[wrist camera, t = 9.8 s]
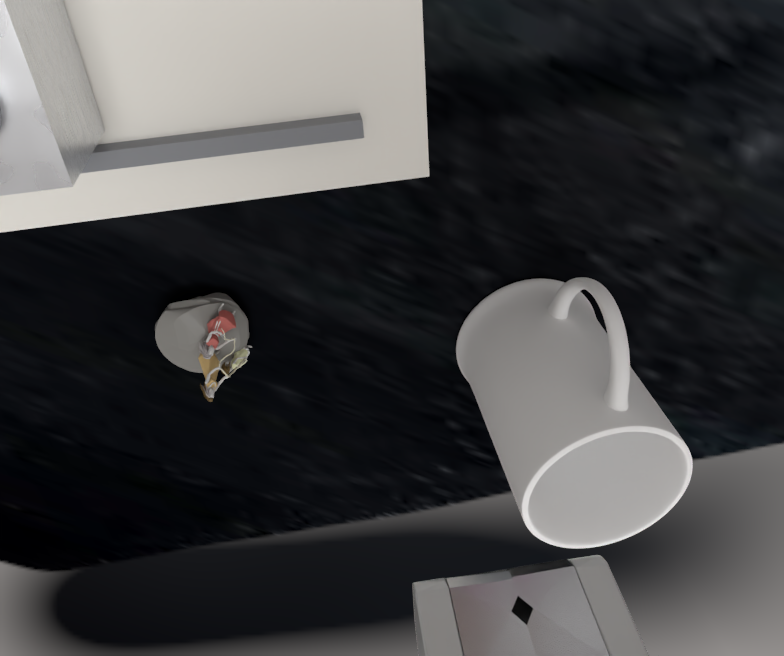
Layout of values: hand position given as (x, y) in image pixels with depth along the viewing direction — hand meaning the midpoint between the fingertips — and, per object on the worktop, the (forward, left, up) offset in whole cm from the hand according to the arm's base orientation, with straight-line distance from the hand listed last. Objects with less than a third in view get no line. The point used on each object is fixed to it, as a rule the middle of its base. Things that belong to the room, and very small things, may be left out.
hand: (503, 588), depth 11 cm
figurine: (+9, +10, -25) cm, 29 cm away
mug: (-9, +13, -25) cm, 30 cm away
